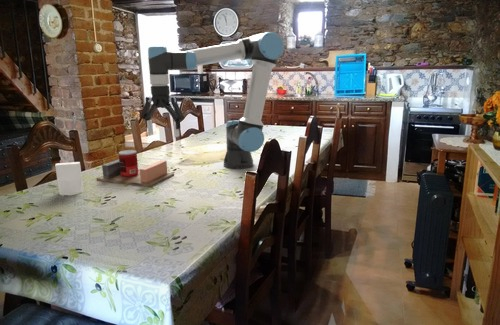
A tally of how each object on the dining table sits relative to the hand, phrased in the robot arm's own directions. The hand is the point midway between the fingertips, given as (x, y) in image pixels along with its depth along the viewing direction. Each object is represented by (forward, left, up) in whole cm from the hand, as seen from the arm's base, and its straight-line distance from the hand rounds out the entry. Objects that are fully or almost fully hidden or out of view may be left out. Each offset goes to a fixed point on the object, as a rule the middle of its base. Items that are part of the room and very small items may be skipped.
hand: (163, 135), depth 160 cm
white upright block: (+29, +25, -21) cm, 44 cm away
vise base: (+16, 0, -20) cm, 26 cm away
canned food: (+20, 0, -20) cm, 28 cm away
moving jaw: (+6, 0, -19) cm, 20 cm away
